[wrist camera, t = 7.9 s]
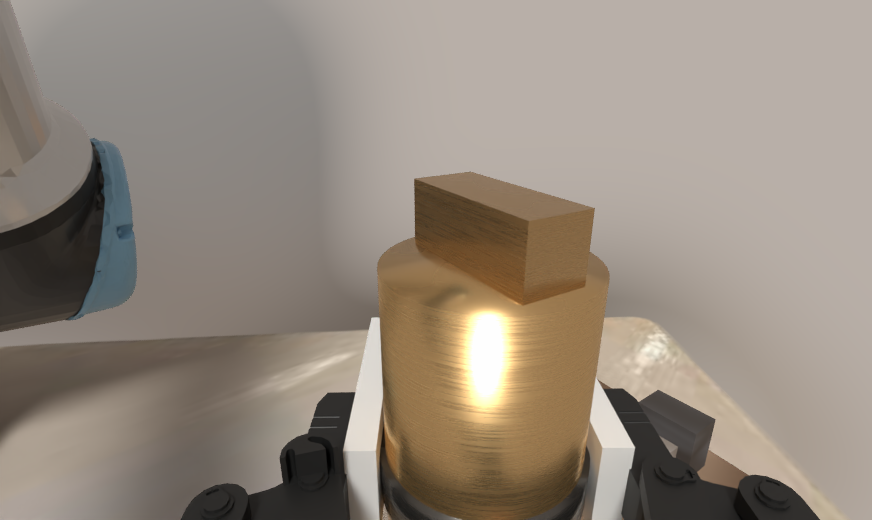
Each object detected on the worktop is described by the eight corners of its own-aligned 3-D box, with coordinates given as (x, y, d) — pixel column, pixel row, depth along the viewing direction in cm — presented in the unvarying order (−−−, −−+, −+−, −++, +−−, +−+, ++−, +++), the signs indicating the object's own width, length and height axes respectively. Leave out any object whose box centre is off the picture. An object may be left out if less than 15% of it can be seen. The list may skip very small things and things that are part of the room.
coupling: (362, 616, 17) (328, 182, 11) (489, 542, 19) (511, 161, 14) (448, 804, 12) (459, 252, 7) (597, 677, 15) (687, 203, 10)
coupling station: (383, 452, 37) (380, 392, 35) (568, 376, 46) (574, 325, 44) (587, 741, 21) (602, 659, 19) (810, 537, 30) (834, 468, 28)
